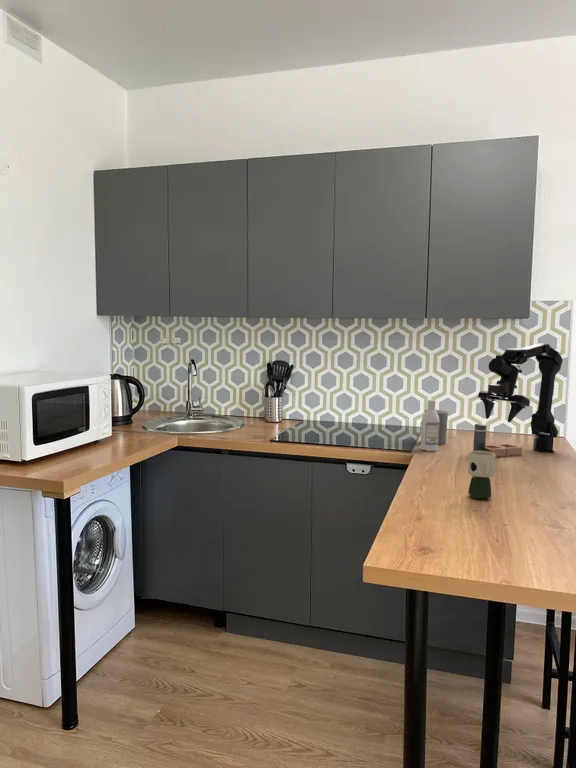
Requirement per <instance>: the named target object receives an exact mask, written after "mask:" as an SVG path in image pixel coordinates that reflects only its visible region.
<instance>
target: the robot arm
mask: <svg viewBox="0 0 576 768" xmlns="http://www.w3.org/2000/svg"><path fill="white" fill-rule="evenodd" d="M534 357H535V360H536V361H537V362H538V370H539V371H540V374H541V381H540V386H539V387H540V388H539V399H538V406H537V410H536V412H535V413H532V415H531V421H530V430H531V435H534V436H535V437H534V438H533V445H532V446H533V447H532V449H534V451H537V452H543V453H544V452H545V453H546V452H547V453H555V450H554V441H555V440H554V438H557V437H558V435H559V430H558V428H557V427H556V425H555V417H554V415H553V413H552V404H553V396H554V390H555V380H556V375H557V374H558V373H559V372H560V371H561V368H562V364H563V357H562V356H561V354H560V353H559V352H558V350H556V349H554V348H553V347H552V346H551V345H550V344H549V343H545V342H537V343H534V344H532V345H531V344H530V345H528V346H525V347H521V348H506V349H505V350H504V352H503V353H502V354H501V355H500V354H496V355H495V357H494V358H493V359H491V361H490V362H489V363H488V369H489V371H490V372H492V373H493V374H495V375H497V376H499V377H500V379H499V380H497V381H496V383H489V384H488V386H487V390H480V391H479V392H478V393H477V398H479V399H480V401H482V402H483V405H484V413H485V419H487V420H489V418H490V416H491V414H492V412H493V409H494V407H495V406H494V405H495V401H502V402H509V403H510V410H509V413H508V416H507V422H508V423H511V422H512V421H513V420H514V418H515V417H516V416H517V415H518V414H519V413H520V412H521V411H522V410H524V409H526V407H527V408H528V407H530V403H531V400H530V398H528V397H526V396H525V395H523V394H514V393H515V392H514V391H515V389H518V385H516V384H517V380H518V377H519V374H522V373H523V370H522V368H521V367H520V365H524V364H525V363H526V362H527V361H528V359H530V358H534Z"/></svg>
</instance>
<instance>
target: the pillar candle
mask: <svg viewBox="0 0 576 768" xmlns="http://www.w3.org/2000/svg"><path fill="white" fill-rule="evenodd" d="M426 410H427V409H425V410H424V413H425V412H426ZM435 410H436V412H437V414H438V416H439V421H440V424H439V442H438V444H444V445H446V444H447V433H448V418H449V417H448V415H449V411H446V410H442V409H437V408H435ZM445 443H446V444H445Z"/></svg>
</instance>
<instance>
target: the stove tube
mask: <svg viewBox="0 0 576 768" xmlns="http://www.w3.org/2000/svg"><path fill="white" fill-rule="evenodd" d="M487 426H488V425H487V424H484V423H483V424H482V423H475V424H474V428H473V429H474V430H473V444H472V445H473V447H472V449H473V450H472V451H485V445H487V444H486V443H487V442H486V441H487V428H488V427H487Z"/></svg>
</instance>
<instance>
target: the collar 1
mask: <svg viewBox="0 0 576 768" xmlns="http://www.w3.org/2000/svg"><path fill="white" fill-rule="evenodd" d="M506 449H507V448H503V447H499V446H496V444H486V445H485V451H487V452H492V453H494V454H495V458H498V456H500V457H507V456H506Z"/></svg>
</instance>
